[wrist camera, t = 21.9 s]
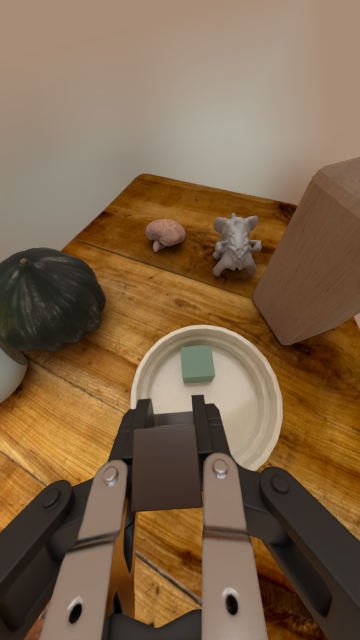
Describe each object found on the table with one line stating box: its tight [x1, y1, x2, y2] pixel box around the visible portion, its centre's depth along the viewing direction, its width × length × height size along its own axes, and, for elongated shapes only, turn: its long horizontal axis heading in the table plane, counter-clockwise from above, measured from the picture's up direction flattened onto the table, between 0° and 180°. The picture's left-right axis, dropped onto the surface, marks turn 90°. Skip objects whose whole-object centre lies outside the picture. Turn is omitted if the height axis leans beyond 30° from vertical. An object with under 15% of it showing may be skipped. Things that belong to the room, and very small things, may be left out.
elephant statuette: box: [213, 213, 262, 276], centre depth 35 cm, size 9×12×8 cm
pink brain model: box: [145, 219, 186, 252], centre depth 39 cm, size 8×6×8 cm
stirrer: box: [131, 411, 203, 512], centre depth 11 cm, size 4×4×9 cm
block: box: [252, 157, 360, 345], centre depth 23 cm, size 10×10×20 cm
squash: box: [0, 248, 106, 352], centre depth 28 cm, size 14×15×15 cm
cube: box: [181, 345, 215, 383], centre depth 26 cm, size 4×4×4 cm
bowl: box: [131, 325, 283, 471], centre depth 25 cm, size 17×17×5 cm
